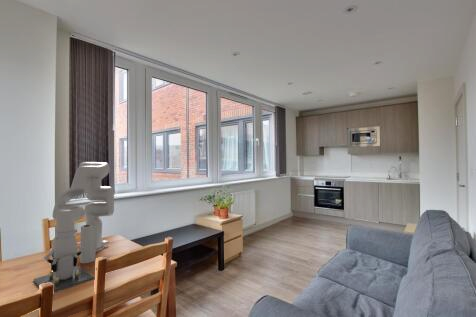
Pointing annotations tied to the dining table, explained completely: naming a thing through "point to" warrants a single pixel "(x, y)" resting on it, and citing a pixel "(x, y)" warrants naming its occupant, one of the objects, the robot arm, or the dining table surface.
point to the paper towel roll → (88, 243)
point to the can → (64, 267)
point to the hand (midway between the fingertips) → (64, 268)
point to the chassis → (75, 279)
